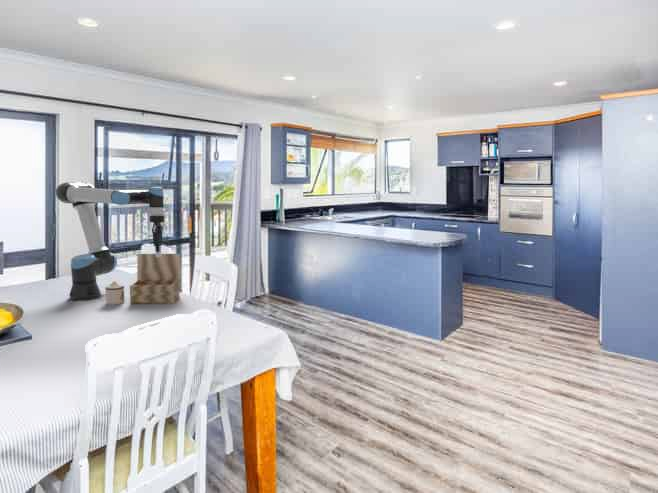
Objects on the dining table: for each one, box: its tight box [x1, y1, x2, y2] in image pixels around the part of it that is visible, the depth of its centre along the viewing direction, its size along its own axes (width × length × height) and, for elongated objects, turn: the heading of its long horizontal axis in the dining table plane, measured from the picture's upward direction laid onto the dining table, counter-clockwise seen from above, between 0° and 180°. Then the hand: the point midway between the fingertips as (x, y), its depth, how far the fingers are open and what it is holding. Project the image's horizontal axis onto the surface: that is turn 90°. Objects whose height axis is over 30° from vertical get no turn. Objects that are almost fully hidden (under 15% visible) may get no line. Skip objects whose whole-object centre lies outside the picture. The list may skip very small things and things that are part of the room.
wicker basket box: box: [129, 280, 180, 305], centre depth 233 cm, size 22×14×10 cm, turn 97°
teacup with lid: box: [104, 280, 125, 306], centre depth 228 cm, size 12×9×12 cm
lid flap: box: [136, 253, 181, 281], centre depth 240 cm, size 23×14×1 cm
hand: (158, 257), depth 239 cm, fingers closed
